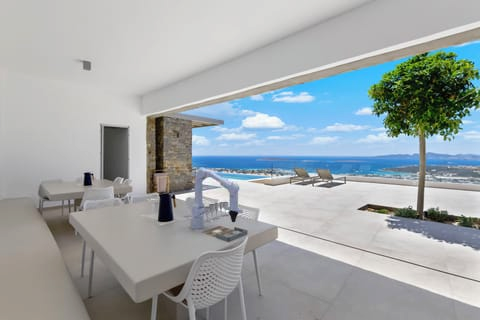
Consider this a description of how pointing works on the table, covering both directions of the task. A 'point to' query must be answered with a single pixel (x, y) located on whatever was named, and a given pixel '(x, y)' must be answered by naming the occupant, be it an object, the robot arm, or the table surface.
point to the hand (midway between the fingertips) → (233, 221)
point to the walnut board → (223, 229)
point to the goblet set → (215, 207)
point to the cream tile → (217, 232)
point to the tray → (228, 239)
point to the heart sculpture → (190, 203)
